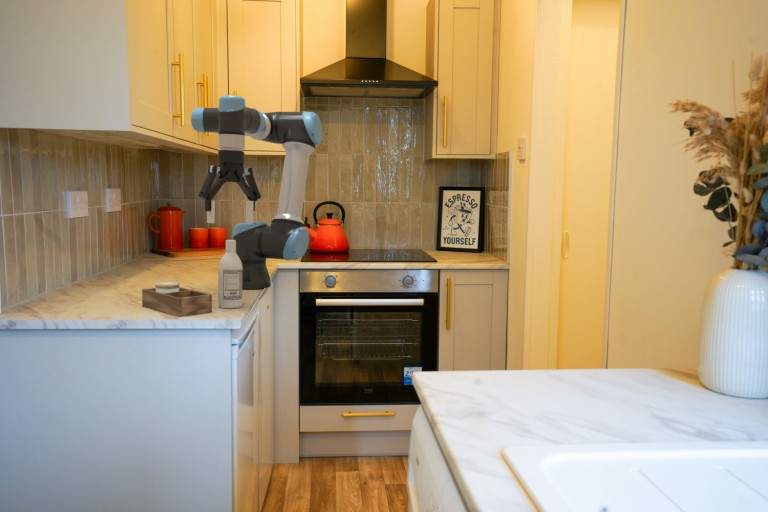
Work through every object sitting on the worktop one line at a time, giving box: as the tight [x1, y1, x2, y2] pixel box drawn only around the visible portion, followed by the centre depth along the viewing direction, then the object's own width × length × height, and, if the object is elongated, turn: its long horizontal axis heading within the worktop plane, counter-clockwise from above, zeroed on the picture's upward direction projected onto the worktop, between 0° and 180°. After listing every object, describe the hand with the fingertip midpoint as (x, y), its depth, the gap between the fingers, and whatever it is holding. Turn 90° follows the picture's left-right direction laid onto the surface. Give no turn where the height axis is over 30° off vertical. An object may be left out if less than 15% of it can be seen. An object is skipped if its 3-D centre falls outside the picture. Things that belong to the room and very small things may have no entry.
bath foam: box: [217, 239, 243, 310], centre depth 197 cm, size 7×7×20 cm
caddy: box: [141, 287, 213, 317], centre depth 191 cm, size 10×20×5 cm, turn 48°
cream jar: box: [154, 280, 181, 293], centre depth 194 cm, size 7×7×6 cm
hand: (230, 222), depth 195 cm, fingers open, 13 cm apart
